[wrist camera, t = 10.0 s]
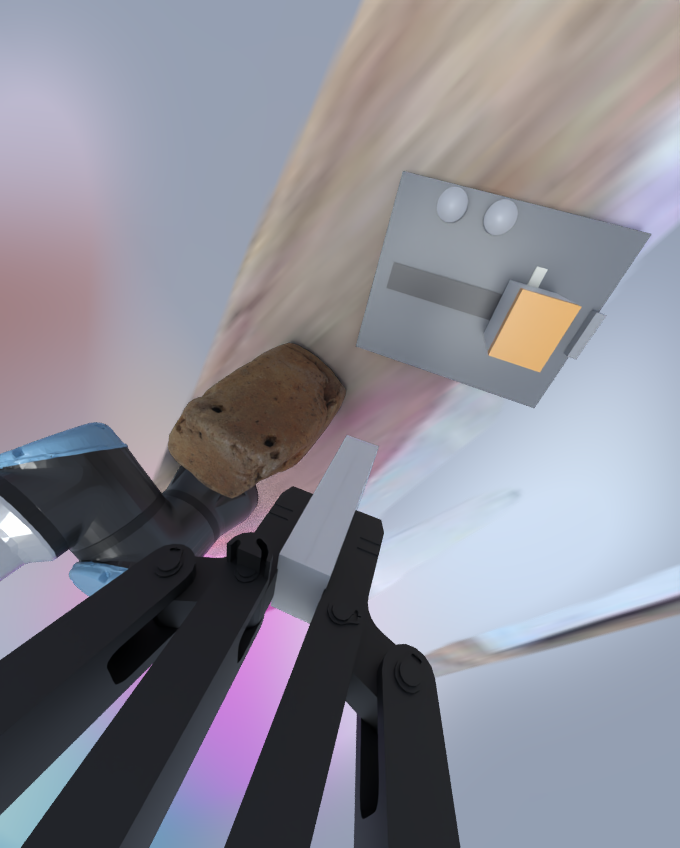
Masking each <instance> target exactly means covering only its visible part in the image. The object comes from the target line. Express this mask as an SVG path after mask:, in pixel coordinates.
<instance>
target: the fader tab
mask: <svg viewBox="0 0 680 848" xmlns="http://www.w3.org/2000/svg"><path fill="white" fill-rule="evenodd" d="M580 309H581V306H579V305H578V304H576V303H574V302H572V301H570V300H568V299H566V298H564V297H562V296H561V295H559V294H557V293H554V292H550V291H547V290H543V289H540V288H536V287H533V286H530V285H526V284H523V283H519V282H516V281H512V280H510V281H509V283H508V285H507V287H506V289H505V291H504V293H503V295H502V297H501V299H500V301H499V303H498V305H497V307H496V309H495V311H494V313H493V315H492V317H491V319H490V321H489V324H488V326H487V328H486V330H485V332H484V334H483V336H484V340H485V344H486V348H487V352H488V355H489V356H492V357H495V358H498V359H501V360H504V361H507V362H510V363H513V364H516V365H519V366H522V367H525V368H528V369H531V370H534V371H537V372H541V370H542V368H543V367H544V365H545V364H546V362H547V361H548V359H549V357H550V356H551V354H552V353H553V351H554V350H555V348H556V347H557V345H558V343H559V342H560V340H561V339H562V337H563V336H564V334H565V332H566V331H567V329H568V328H569V326H570V325H571V323H572V321H573V320H574V318H575V317H576V315H577V314H578V312H579V310H580Z"/></svg>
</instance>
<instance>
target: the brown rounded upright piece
mask: <svg viewBox="0 0 680 848" xmlns="http://www.w3.org/2000/svg"><path fill="white" fill-rule="evenodd" d="M345 393H346V390H345V388H344V386H343V385H342V384H341V383H340V381H339V380H338V379H337V377H336V376H335V374H334V373H333V372H332V371H331V370H330V369H329V368H328V367H327V366H326V365H325V364H324V363H323V362H322V361H321V360H320V359H319V358H318V357H316V356H315V355H313V354H312V353H311V352H309V351H307V350H306V349H303V348H302V347H300V346H299V345H296V344H292V343H287V344H283V345H280V346H278V347H275V348H273V349H271V350H269V351H267V352H265V353H263V354H261V355H260V356H258V357H257V358H255V359H254V360H253V361H252V362H249V363H248V364H246V365H244V366H242V367H240V368H238V369H237V370H235V371H234V372H233V373H231V374H230V375H228V376H226V377H225V378H224V379H222V380H221V381H219V382H218V383H216V384H215V385H214V386H212V387H211V388H210V389H208V390H207V391H206V392H205V393H204V395H203V396H202V397H198V398H196V399H194V400H192V401H191V402H189V403H188V404H187V406H186V407H185V409H184V411H183V414H182V415H181V417H180V418H179V420H178V421H177V423H176V424H175V426H174V428H173V429H172V431H171V433H170V435H169V442H168V449H169V452H170V453H171V455H172V456H173V458H174V459H175V460H176V461H177V462H178V463H179V464H180V465H181V466H183V467H184V468H186V469H187V470H189V471H190V472H191V473H192V474H193V475H194V476H195V477H196V478H197V479H198V480H199V481H200V482H201V483H203V484H204V485H205V486H206V487H208V488H210V489H212V490H213V491H216V492H218V493H220V494H221V495H224V496H226V497H229V498H234V497H237V496H239V495H241V494H242V493H244V492H245V491H247V490H249V489H250V488H252V487H253V486H255V485H256V484H257V483H258V482H259V481H260V480H263V479H265V478H268V477H269V476H272V475H274V474H276V473H278V472H282V471H285V470H287V469H289V468H291V467H293V466H294V465H296V464H297V463H298V462H299V461H300V460H301V459H302V458H303V457H304V456H305V455H306V454H307V452H308V451H309V450H310V449H311V447H312V446H313V445H314V443H315V442H316V441H317V440H318V438H319V437H320V436H321V435H322V433H323V432H324V431H325V429H326V428H327V427H328V425H329V424H330V422H331V421H332V419H333V418H334V416H335V415H336V413H337V412H338V410H339V408H340V406H341V404H342V402H343V400H344V397H345Z"/></svg>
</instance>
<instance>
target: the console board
mask: <svg viewBox="0 0 680 848" xmlns="http://www.w3.org/2000/svg"><path fill="white" fill-rule="evenodd" d="M650 236H651V234H650V233H646V232H642V231H638V230H634V229H630V228H626V227H622V226H618V225H614V224H611V223H607V222H603V221H599V220H595V219H591V218H587V217H583V216H579V215H575V214H571V213H567V212H563V211H559V210H555V209H551V208H547V207H543V206H540V205H536V204H532V203H528V202H524V201H520V200H516V199H512V198H508V197H504V196H500V195H496V194H492V193H488V192H484V191H480V190H476V189H472V188H468V187H465V186H461V185H457V184H453V183H449V182H445V181H441V180H437V179H433V178H429V177H425V176H421V175H417V174H413V173H409V172H405V171H403V173H402V177H401V180H400V184H399V188H398V192H397V195H396V199H395V203H394V206H393V210H392V214H391V217H390V221H389V225H388V229H387V232H386V236H385V240H384V243H383V247H382V251H381V255H380V258H379V262H378V266H377V269H376V273H375V277H374V281H373V284H372V288H371V292H370V295H369V299H368V303H367V306H366V310H365V314H364V318H363V321H362V325H361V329H360V332H359V336H358V340H357V344H356V347H359V348H362V349H365V350H368V351H371V352H374V353H377V354H380V355H382V356H385V357H388V358H391V359H394V360H397V361H400V362H403V363H405V364H408V365H411V366H414V367H417V368H420V369H423V370H426V371H428V372H431V373H434V374H437V375H440V376H443V377H446V378H449V379H452V380H454V381H457V382H460V383H463V384H466V385H469V386H472V387H475V388H477V389H480V390H483V391H486V392H489V393H492V394H495V395H498V396H500V397H503V398H506V399H509V400H512V401H515V402H518V403H521V404H524V405H526V406H530V407H532V408H535V406H536V405H537V403H538V402H539V400H540V399H541V397H542V396H543V395H544V393H545V392H546V390H547V388H548V387H549V386H550V384H551V383H552V381H553V380H554V378H555V377H556V375H557V374H558V372H559V371H560V369H561V368H562V366H563V365H564V363H565V362H566V360H567V359H568V357H570V358H573V359H577V358H578V356H579V355H580V353H581V352H582V350H583V349H584V347H585V346H586V345H587V343H588V341H589V340H590V339H591V337H592V336H593V335H594V333H595V332H596V330H597V329H598V327H599V326H600V324H601V323H602V321H603V320H604V318H605V317H606V315H604V314H602V313H600V312H599V311H600V310H601V308H602V307H603V305H604V304H605V303H606V301H607V300H608V298H609V297H610V295H611V294H612V292H613V291H614V289H615V288H616V286H617V285H618V283H619V282H620V280H621V279H622V277H623V276H624V274H625V273H626V271H627V270H628V268H629V267H630V265H631V264H632V262H633V261H634V259H635V258H636V256H637V255H638V254H639V252H640V251H641V249H642V248H643V246H644V245H645V243H646V242H647V240H648V239H649V237H650ZM510 280H512V281H516V282H519V283H523V284H526V285H530V286H533V287H536V288H540V289H543V290H547V291H550V292H554V293H557V294H559V295H561V296H562V297H564V298H566V299H568V300H570V301H572V302H574V303H576V304H578V305H579V306H581V309H580V310H579V312H578V314H577V315H576V317H575V318H574V320H573V321H572V323H571V325H570V326H569V328H568V329H567V331H566V332H565V334H564V336H563V337H562V339H561V340H560V342H559V343H558V345H557V347H556V348H555V350H554V351H553V353H552V354H551V356H550V357H549V359H548V361H547V362H546V364H545V365H544V367H543V368H542V370H541V372H537V371H534V370H531V369H528V368H525V367H522V366H519V365H516V364H513V363H510V362H507V361H504V360H501V359H498V358H495V357H492V356H489V355H488V352H487V348H486V344H485V340H484V336H483V334H484V332H485V330H486V328H487V326H488V324H489V321H490V319H491V317H492V315H493V313H494V311H495V309H496V307H497V305H498V303H499V301H500V299H501V297H502V295H503V293H504V291H505V289H506V287H507V285H508V283H509V281H510Z"/></svg>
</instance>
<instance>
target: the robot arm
mask: <svg viewBox="0 0 680 848" xmlns="http://www.w3.org/2000/svg"><path fill="white" fill-rule="evenodd" d="M378 448H379V446H377V445H374V444H371V443H368V442H365V441H363V440H360V439H357V438H354V437H351V436H349V435H347V436H346V438H345V439H344V441H343V443H342V445H341V446H340V448H339V450H338V452H337V453H336V455H335V457H334V459H333V460H332V462H331V464H330V466H329V467H328V469H327V471H326V473H325V474H324V476H323V478H322V480H321V482H320V483H319V485H318V487H317V489H316V490H315V492H314V494H311V493H309V492H306V491H304V490H301V489H299V488H296V487H291V488H289V489H288V490H286V491H285V492H283V493H282V494H281V495H280V497H279V498H278V499H277V501H276V502H275V504H274V505H273V507H272V508H271V510H270V511H269V513H268V514H267V515H266V517H265V518H264V520H263V521H262V522H261V524H260V525H259V527H258V528H257V530H256V531H255V532H254V533H253V532H250V533H242V534H240V535H237V536H235V537H233V538H232V539H231V540H230V541H229V542H228V543H227V557H224V558H209V557H203V556H204V555H205V554H206V553H207V552H208V550H209V549H210V548H211V547H212V545H213V544H214V543H215V542H216V540H217V539H218V538H219V537H220V536H221V535H223V534H224V533H226V532H227V531H229V530H230V529H232V528H234V527H235V526H237V525H238V524H240V523H241V522H243V521H244V520H246V519H247V518H248V517H249V515H250V514H251V513H252V512H253V510H254V509H255V507H256V505H257V501H258V496H257V491H256V487H255V486H253V487H252V488H250V489H249V490H247V491H245V492H244V493H242V494H241V495H239V496H237V497H234V498H229V497H226V496H224V495H221V494H220V493H218V492H216V491H213V490H212V489H210V488H208V487H206V486H205V485H204V484H203V483H201V482H200V481H199V480H198V479H197V478H196V477H195V476H194V475H193V474H192V473H191V472H190V471H189V470H187V469H186V468H184V467H183V466H180V468H179V470H178V471H177V473H176V474H175V476H174V478H173V479H172V481H171V483H170V484H169V486H168V488H167V489H166V490H165V491H164V492H163V493H161V492H160V490H159V489H158V488H157V486H156V485H155V484H154V482H153V481H152V480H151V479H150V477H149V476H148V475H147V473H146V472H145V471H144V469H143V468H142V467H141V466H140V464H139V463H138V462H137V460H136V459H135V457H134V456H133V455H132V453H131V452H130V451H129V449H128V446H127V445H126V444H124V443H123V442H122V441H121V440H120V438H119V437H118V436H117V435H116V434H115V433H114V432H113V430H112V429H111V428H110V427H109V426H107V425H106V424H103V423H97V422H94V423H88V424H85V425H81V426H78V427H75V428H72V429H69V430H66V431H63V432H60V433H57V434H54V435H51V436H48V437H46V438H42V439H40V440H37V441H34V442H31V443H29V444H26V445H24V446H22V447H18V448H16V449H13V450H10V451H7V452H4V453H2V454H0V581H1V580H3V579H4V578H6V577H7V576H8V575H10V574H11V573H13V572H14V571H16V570H17V569H19V568H20V567H21V566H23V565H24V564H28V563H31V562H44V561H53V560H55V559H56V558H58V557H59V556H60V555H62V554H63V553H64V552H66V551H67V550H68V549H69V550H70V551H71V552H72V553H73V554H74V555H75V556H76V557H77V558H78V559H79V562H77V563H75V564H74V565H73V568H72V569H71V570H70V572H69V577H70V579H71V580H72V581H73V583H74V585H75V586H76V587H77V588H79V589H80V590H81V591H82V592H84V593H85V594H86V595H88V596H89V597H88V598H87V599H85V600H84V601H83V602H81V603H80V604H78V605H77V606H76V607H74V608H73V609H71V610H70V611H69V612H67V613H66V614H64V615H63V616H62V617H60V618H59V619H57V620H56V621H55V622H53V623H52V624H50V625H49V626H48V627H46V628H45V629H43V630H42V631H41V632H39V633H38V634H36V635H35V636H33V637H32V638H31V639H29V640H28V641H26V642H25V643H24V644H22V645H21V646H20V647H18V648H17V649H15V650H14V651H12V652H11V653H10V654H8V655H7V656H5V657H4V658H3V659H1V660H0V815H1V814H2V813H3V812H4V811H5V810H6V809H7V808H8V807H9V806H10V805H11V804H12V803H13V802H14V801H15V800H16V799H17V798H18V797H19V796H20V795H21V794H22V793H23V792H24V791H25V790H26V789H27V788H28V787H29V786H30V785H31V784H32V783H33V782H34V781H35V780H36V779H37V778H38V777H39V776H40V775H41V774H42V773H43V772H44V771H45V770H46V769H47V768H48V767H49V766H50V765H51V764H52V763H53V762H54V761H55V760H56V759H57V758H58V757H59V756H60V755H61V754H62V753H63V752H64V751H65V750H66V749H67V748H68V747H69V746H70V745H71V744H72V743H73V742H74V741H75V740H76V739H77V738H78V737H79V736H80V735H81V734H82V733H83V732H84V731H85V730H86V729H87V728H88V727H89V726H90V725H91V724H92V723H93V722H94V721H95V720H96V719H97V718H98V717H99V716H101V715H102V713H103V712H104V711H105V710H106V709H108V708H109V707H110V706H111V705H112V704H113V703H114V702H115V701H116V700H117V699H118V697H120V696H121V695H122V693H124V692H125V691H126V690H127V689H128V688H129V687H130V685H132V684H133V683H134V682H135V681H136V680H137V679H138V678H139V677H140V676H141V675H142V674H143V673H144V672H145V671H146V670H147V669H148V668H149V667H150V666H151V665H152V666H151V667H150V669H149V670H148V671H147V673H146V674H145V676H144V677H143V678H142V680H141V681H140V683H139V684H138V685H137V687H136V688H135V689H134V691H133V692H132V694H131V695H130V697H129V698H128V699H127V701H126V702H125V703H124V705H123V706H122V708H121V709H120V710H119V712H118V713H117V715H116V716H115V717H114V719H113V720H112V722H111V723H110V724H109V726H108V727H107V728H106V730H105V731H104V733H103V734H102V735H101V737H100V738H99V740H98V741H97V742H96V744H95V745H94V746H93V748H92V749H91V751H90V752H89V753H88V755H87V756H86V758H85V759H84V760H83V762H82V763H81V765H80V766H79V767H78V769H77V770H76V772H75V773H74V774H73V776H72V777H71V778H70V780H69V781H68V783H67V784H66V786H65V787H64V788H63V790H62V791H61V793H60V794H59V795H58V797H57V798H56V799H55V801H54V802H53V803H52V805H51V806H50V808H49V809H48V811H47V812H46V813H45V815H44V816H43V818H42V819H41V820H40V822H39V823H38V825H37V826H36V827H35V829H34V830H33V832H32V833H31V834H30V836H29V837H28V838H27V840H26V841H25V842H24V844H23V845H22V847H21V848H149V847H150V845H151V843H152V841H153V839H154V837H155V835H156V833H157V831H158V829H159V827H160V825H161V823H162V821H163V819H164V817H165V815H166V813H167V811H168V809H169V807H170V805H171V803H172V801H173V799H174V797H175V795H176V793H177V791H178V789H179V787H180V786H181V784H182V782H183V780H184V778H185V776H186V774H187V771H188V770H189V768H190V766H191V764H192V762H193V760H194V758H195V756H196V754H197V752H198V750H199V748H200V746H201V744H202V742H203V740H204V738H205V736H206V734H207V732H208V730H209V728H210V726H211V724H212V722H213V720H214V718H215V716H216V714H217V712H218V710H219V708H220V706H221V704H222V702H223V701H224V699H225V697H226V694H227V692H228V690H229V689H230V687H231V685H232V682H233V681H234V679H235V677H236V675H237V673H238V671H239V669H240V667H241V665H242V663H243V661H244V659H245V657H246V655H247V653H248V651H249V649H250V647H251V645H252V643H253V641H254V639H255V637H256V635H257V633H258V631H259V629H260V627H261V625H262V622H263V619H264V614H265V612H266V610H267V608H268V606H269V604H270V602H271V606H272V607H275V608H277V609H279V610H281V611H283V612H286V613H288V614H290V615H292V616H294V617H296V618H299V619H301V620H303V621H305V622H307V623H310V626H309V629H308V631H307V634H306V636H305V639H304V642H303V644H302V647H301V649H300V652H299V655H298V657H297V660H296V662H295V665H294V668H293V670H292V673H291V676H290V678H289V681H288V683H287V686H286V689H285V691H284V694H283V696H282V699H281V701H280V704H279V707H278V709H277V712H276V714H275V717H274V720H273V722H272V725H271V727H270V730H269V733H268V735H267V738H266V740H265V743H264V746H263V748H262V751H261V753H260V756H259V759H258V762H257V764H256V766H255V769H254V772H253V774H252V777H251V780H250V782H249V785H248V787H247V790H246V793H245V795H244V798H243V800H242V803H241V805H240V808H239V811H238V813H237V816H236V818H235V821H234V824H233V826H232V829H231V831H230V834H229V837H228V839H227V842H226V844H225V847H224V848H310V844H311V841H312V837H313V832H314V829H315V824H316V820H317V816H318V812H319V807H320V804H321V800H322V796H323V791H324V787H325V783H326V779H327V774H328V771H329V766H330V762H331V758H332V754H333V750H334V746H335V741H336V738H337V733H338V729H339V725H340V721H341V717H342V713H343V708H344V705H345V701H346V702H347V703H348V704H349V705H350V706H351V707H352V708H353V709H354V710H355V712H356V713H357V730H356V733H357V734H356V777H355V824H354V825H355V826H354V848H460V842H459V835H458V829H457V822H456V815H455V809H454V802H453V796H452V789H451V782H450V775H449V769H448V762H447V755H446V748H445V742H444V735H443V728H442V722H441V715H440V708H439V702H438V695H437V688H436V682H435V677H434V674H433V670H432V667H431V665H430V664H429V662H428V661H427V659H426V657H425V656H424V655H423V654H422V653H421V652H420V651H418V650H417V649H416V648H414V647H412V646H409V645H407V644H398V645H395V644H394V643H393V642H392V641H391V640H390V639H389V638H388V637H386V636H385V635H384V634H383V633H382V632H381V631H380V630H379V629H378V628H377V627H376V625H375V624H374V622H373V620H372V619H371V616H370V613H369V610H368V596H369V592H370V588H371V584H372V580H373V576H374V572H375V567H376V563H377V559H378V555H379V551H380V547H381V543H382V539H383V535H384V531H383V526H382V522H381V520H380V519H377V518H375V517H372V516H370V515H367V514H364V513H362V512H359V511H357V508H358V505H359V503H360V500H361V497H362V495H363V492H364V489H365V486H366V483H367V480H368V477H369V474H370V471H371V468H372V465H373V463H374V460H375V457H376V454H377V451H378ZM271 600H272V601H271Z"/></svg>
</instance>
